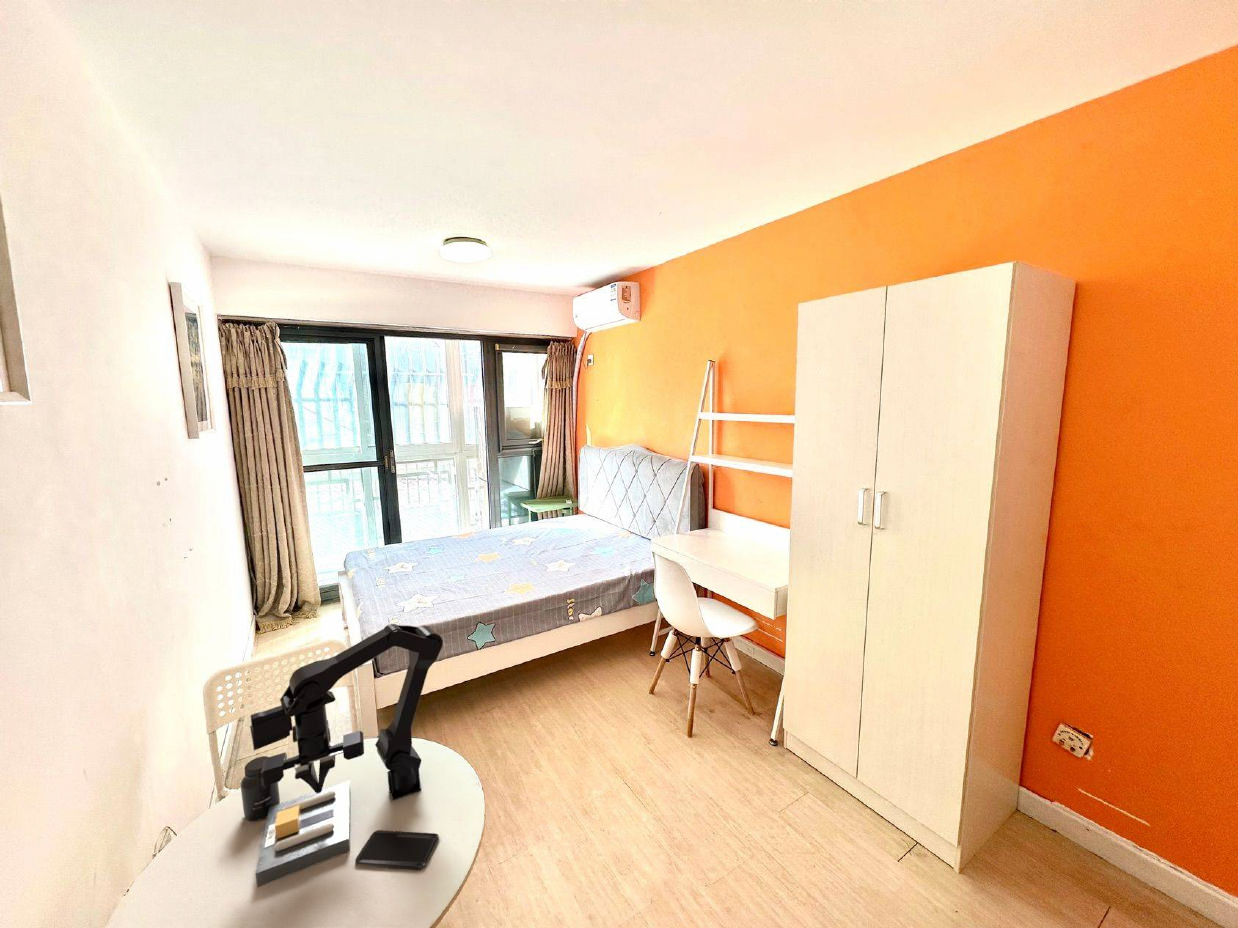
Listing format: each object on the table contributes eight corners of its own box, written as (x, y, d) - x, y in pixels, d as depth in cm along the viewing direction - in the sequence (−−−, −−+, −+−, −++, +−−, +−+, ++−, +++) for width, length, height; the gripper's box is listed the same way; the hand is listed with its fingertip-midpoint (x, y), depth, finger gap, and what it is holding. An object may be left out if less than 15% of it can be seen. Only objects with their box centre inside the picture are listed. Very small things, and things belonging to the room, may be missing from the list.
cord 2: (336, 794, 116) (335, 787, 116) (335, 798, 114) (335, 792, 114) (281, 812, 111) (280, 806, 111) (280, 817, 110) (279, 811, 109)
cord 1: (334, 826, 107) (333, 819, 107) (334, 831, 106) (333, 825, 105) (275, 847, 102) (274, 841, 102) (274, 854, 101) (273, 847, 101)
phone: (423, 867, 100) (352, 862, 101) (423, 872, 100) (353, 867, 101) (440, 833, 107) (374, 828, 109) (441, 837, 108) (375, 833, 109)
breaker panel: (350, 791, 120) (349, 780, 120) (350, 850, 105) (348, 837, 104) (270, 818, 113) (269, 806, 112) (257, 886, 97) (255, 873, 97)
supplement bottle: (262, 824, 111) (255, 776, 110) (236, 820, 113) (230, 772, 111) (287, 800, 118) (282, 754, 116) (263, 796, 120) (257, 750, 118)
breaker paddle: (300, 816, 109) (299, 804, 109) (299, 830, 106) (297, 818, 105) (279, 824, 108) (277, 812, 107) (276, 838, 104) (274, 826, 104)
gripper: (360, 693, 118) (366, 753, 120) (264, 718, 109) (272, 782, 111) (360, 720, 108) (367, 784, 110) (256, 749, 100) (265, 819, 102)
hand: (319, 791), depth 109 cm, fingers closed
